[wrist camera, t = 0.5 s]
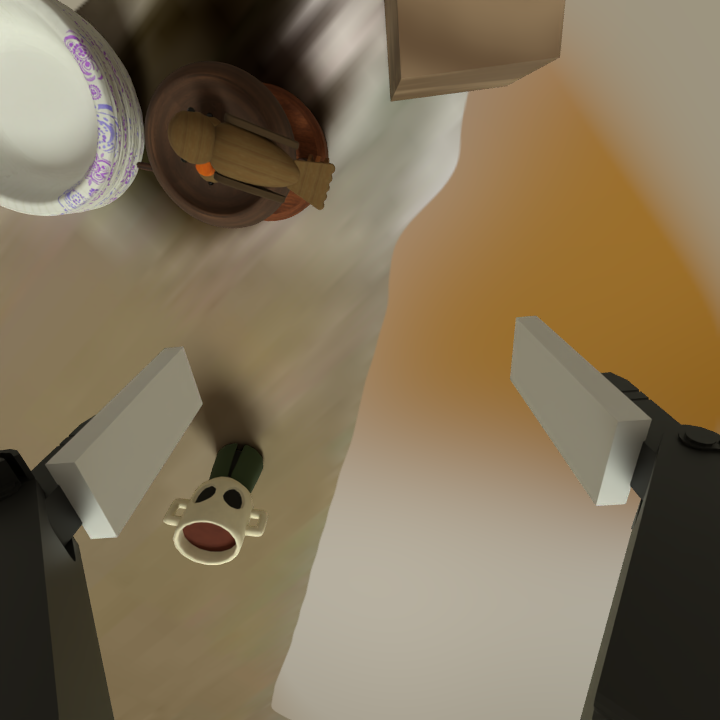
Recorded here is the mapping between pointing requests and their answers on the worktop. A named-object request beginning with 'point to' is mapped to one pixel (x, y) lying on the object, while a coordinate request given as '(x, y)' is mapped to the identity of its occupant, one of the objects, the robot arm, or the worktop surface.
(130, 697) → the worktop surface
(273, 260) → the worktop surface
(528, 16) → the brown wooden block
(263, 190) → the music box
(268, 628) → the worktop surface
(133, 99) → the paper bowls
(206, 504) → the character mug
